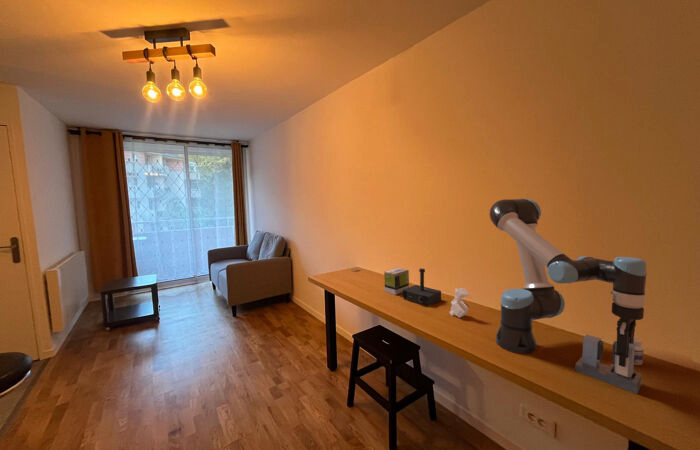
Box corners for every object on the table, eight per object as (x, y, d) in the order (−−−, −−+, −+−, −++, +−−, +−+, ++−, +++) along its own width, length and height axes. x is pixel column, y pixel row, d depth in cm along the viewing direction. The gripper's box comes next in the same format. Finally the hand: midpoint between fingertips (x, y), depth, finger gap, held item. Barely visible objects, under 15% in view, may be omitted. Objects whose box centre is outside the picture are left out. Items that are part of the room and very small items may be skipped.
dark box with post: (400, 299, 178) (400, 269, 177) (416, 293, 190) (415, 264, 188) (427, 307, 164) (427, 274, 163) (441, 300, 175) (441, 269, 174)
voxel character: (449, 300, 161) (462, 283, 152) (463, 318, 153) (478, 301, 145) (440, 302, 157) (454, 286, 148) (454, 321, 150) (469, 304, 141)
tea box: (398, 287, 204) (398, 267, 203) (409, 290, 196) (409, 269, 195) (384, 291, 194) (383, 271, 193) (395, 295, 187) (395, 273, 185)
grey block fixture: (574, 370, 102) (576, 337, 101) (581, 363, 106) (583, 331, 105) (637, 394, 89) (639, 357, 88) (641, 384, 94) (644, 349, 93)
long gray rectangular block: (611, 371, 95) (612, 342, 94) (613, 366, 98) (615, 339, 97) (630, 377, 91) (632, 348, 91) (633, 373, 94) (635, 344, 93)
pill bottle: (622, 356, 111) (623, 334, 110) (641, 360, 107) (642, 338, 106) (623, 362, 106) (625, 339, 106) (643, 367, 103) (645, 344, 102)
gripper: (618, 295, 100) (614, 358, 102) (605, 307, 90) (602, 376, 92) (648, 301, 94) (644, 367, 96) (638, 314, 84) (634, 388, 86)
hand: (623, 371), depth 94 cm, fingers closed on long gray rectangular block, 4 cm apart
